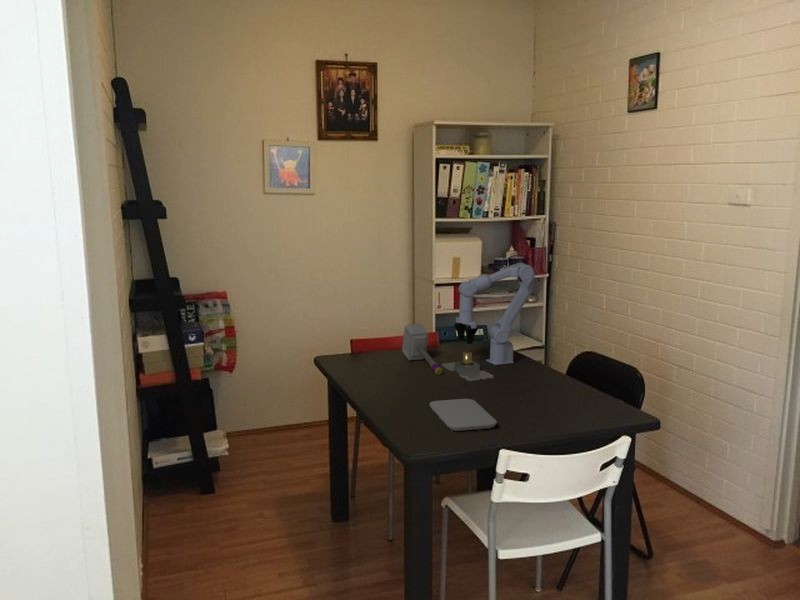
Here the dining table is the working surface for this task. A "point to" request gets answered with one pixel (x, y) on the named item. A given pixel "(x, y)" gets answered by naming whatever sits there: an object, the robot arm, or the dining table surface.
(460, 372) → the hinge base
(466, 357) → the hinge pin
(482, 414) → the tablet
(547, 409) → the dining table surface
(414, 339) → the hammer
